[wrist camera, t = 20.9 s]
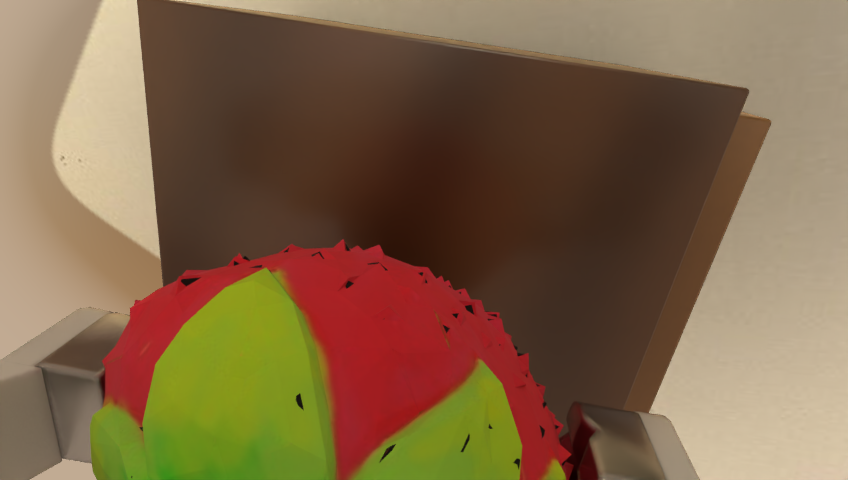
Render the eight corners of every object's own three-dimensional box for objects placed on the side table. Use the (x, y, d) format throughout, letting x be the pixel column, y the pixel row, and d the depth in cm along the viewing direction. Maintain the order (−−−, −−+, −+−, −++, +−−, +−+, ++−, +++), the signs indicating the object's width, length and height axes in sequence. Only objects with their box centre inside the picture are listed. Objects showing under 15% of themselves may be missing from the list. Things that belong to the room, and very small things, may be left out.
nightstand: (626, 66, 19) (752, 89, 10) (554, 315, 23) (597, 480, 15) (292, 15, 20) (135, -5, 11) (285, 266, 24) (172, 396, 15)
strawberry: (372, 92, 10) (-651, 573, 1) (590, 321, 12) (973, 1353, 3) (219, 256, 12) (-581, 910, 3) (422, 433, 14) (294, 1231, 5)
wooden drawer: (692, 93, 18) (827, 128, 11) (611, 323, 22) (672, 457, 15) (340, 39, 19) (251, 39, 12) (325, 272, 23) (253, 376, 16)
